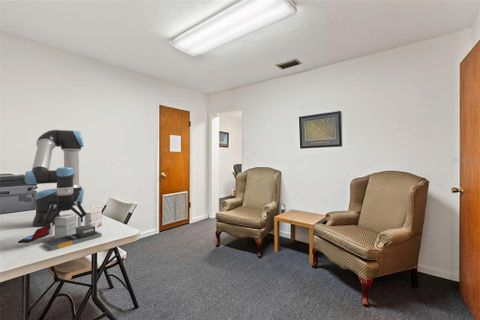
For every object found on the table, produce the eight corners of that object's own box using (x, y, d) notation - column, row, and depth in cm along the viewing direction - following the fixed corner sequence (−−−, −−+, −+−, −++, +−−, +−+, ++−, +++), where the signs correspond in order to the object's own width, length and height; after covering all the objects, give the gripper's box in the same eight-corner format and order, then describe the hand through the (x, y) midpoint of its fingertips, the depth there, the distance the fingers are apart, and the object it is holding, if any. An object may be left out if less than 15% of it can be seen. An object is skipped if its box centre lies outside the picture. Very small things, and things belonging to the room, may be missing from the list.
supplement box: (54, 239, 125) (53, 217, 125) (65, 235, 133) (64, 213, 132) (66, 240, 125) (66, 217, 125) (77, 235, 132) (76, 214, 132)
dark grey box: (75, 238, 126) (75, 227, 126) (89, 234, 132) (89, 224, 132) (81, 240, 122) (81, 229, 122) (95, 236, 128) (95, 226, 128)
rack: (42, 246, 116) (42, 241, 116) (92, 233, 135) (92, 229, 135) (51, 252, 109) (51, 246, 109) (101, 237, 128) (101, 233, 128)
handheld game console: (36, 235, 133) (36, 222, 133) (55, 234, 134) (55, 222, 133) (16, 243, 121) (16, 229, 121) (37, 243, 121) (36, 229, 121)
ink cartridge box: (95, 226, 149) (95, 204, 148) (102, 226, 148) (101, 204, 148) (84, 230, 140) (84, 207, 140) (91, 231, 139) (90, 207, 139)
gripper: (38, 198, 116) (39, 239, 116) (92, 192, 136) (92, 226, 137) (34, 197, 120) (35, 236, 120) (86, 191, 141) (87, 224, 141)
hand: (65, 231), depth 128 cm, fingers open, 13 cm apart
